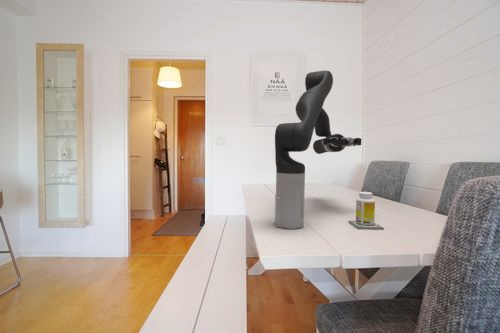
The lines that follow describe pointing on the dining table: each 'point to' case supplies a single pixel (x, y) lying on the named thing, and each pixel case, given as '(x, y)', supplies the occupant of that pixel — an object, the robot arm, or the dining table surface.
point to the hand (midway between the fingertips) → (347, 140)
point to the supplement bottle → (365, 208)
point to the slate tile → (366, 226)
